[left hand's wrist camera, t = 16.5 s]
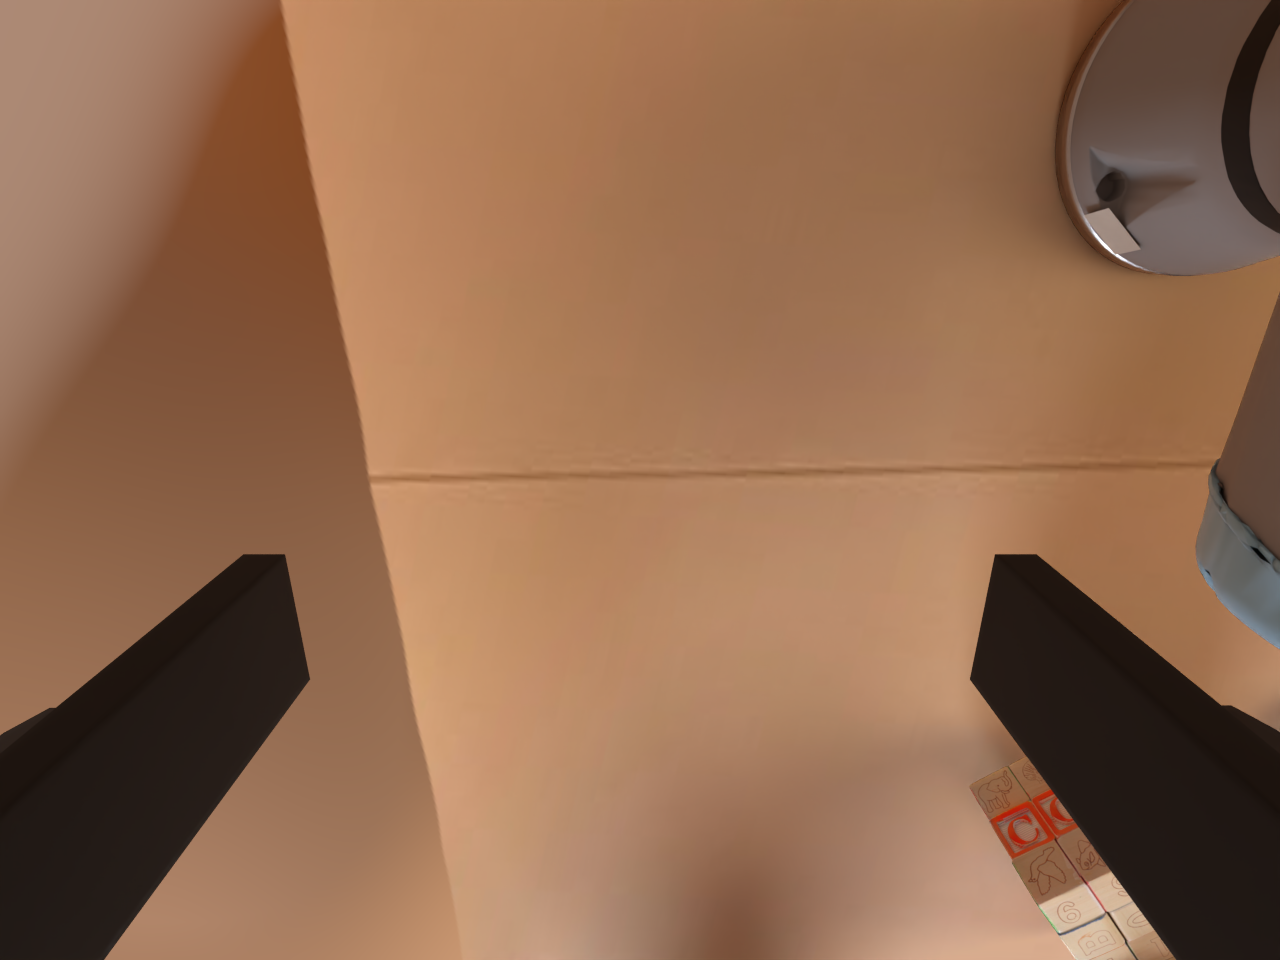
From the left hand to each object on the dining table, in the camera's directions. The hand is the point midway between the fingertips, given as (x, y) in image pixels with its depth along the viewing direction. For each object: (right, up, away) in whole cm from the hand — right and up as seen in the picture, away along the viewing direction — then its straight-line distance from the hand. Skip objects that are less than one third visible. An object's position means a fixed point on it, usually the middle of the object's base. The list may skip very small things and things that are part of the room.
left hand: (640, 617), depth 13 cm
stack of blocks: (+32, -25, +38) cm, 55 cm away
